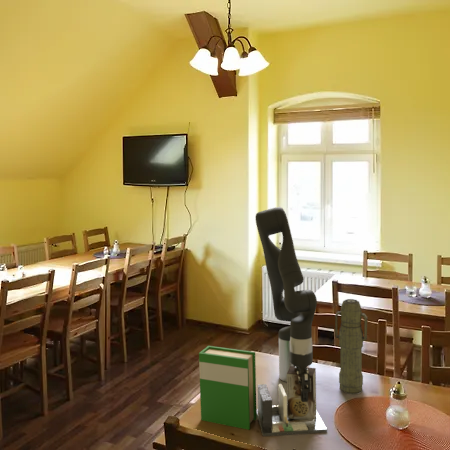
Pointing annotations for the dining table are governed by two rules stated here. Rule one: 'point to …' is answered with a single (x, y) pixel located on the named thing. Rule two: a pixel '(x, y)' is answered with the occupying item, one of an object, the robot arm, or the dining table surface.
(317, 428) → the gauge frame
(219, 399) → the hardback book
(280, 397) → the paddle
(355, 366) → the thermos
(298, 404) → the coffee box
